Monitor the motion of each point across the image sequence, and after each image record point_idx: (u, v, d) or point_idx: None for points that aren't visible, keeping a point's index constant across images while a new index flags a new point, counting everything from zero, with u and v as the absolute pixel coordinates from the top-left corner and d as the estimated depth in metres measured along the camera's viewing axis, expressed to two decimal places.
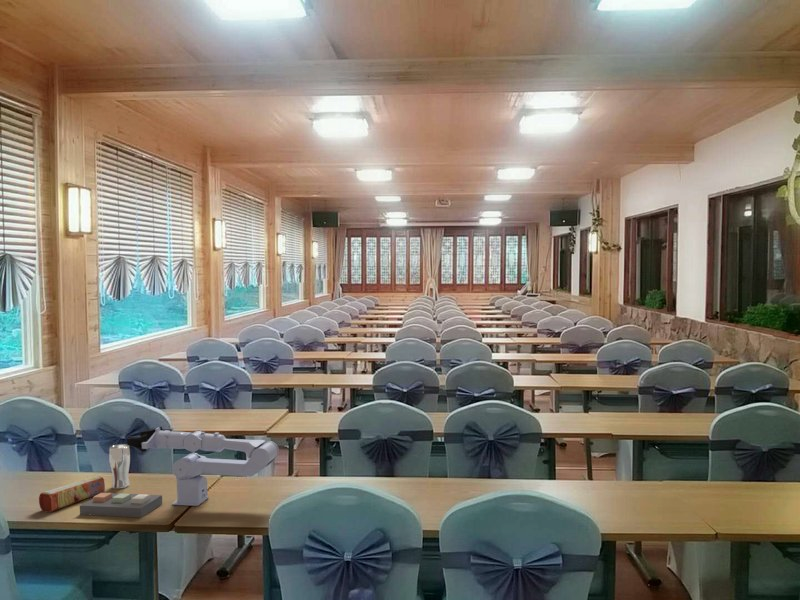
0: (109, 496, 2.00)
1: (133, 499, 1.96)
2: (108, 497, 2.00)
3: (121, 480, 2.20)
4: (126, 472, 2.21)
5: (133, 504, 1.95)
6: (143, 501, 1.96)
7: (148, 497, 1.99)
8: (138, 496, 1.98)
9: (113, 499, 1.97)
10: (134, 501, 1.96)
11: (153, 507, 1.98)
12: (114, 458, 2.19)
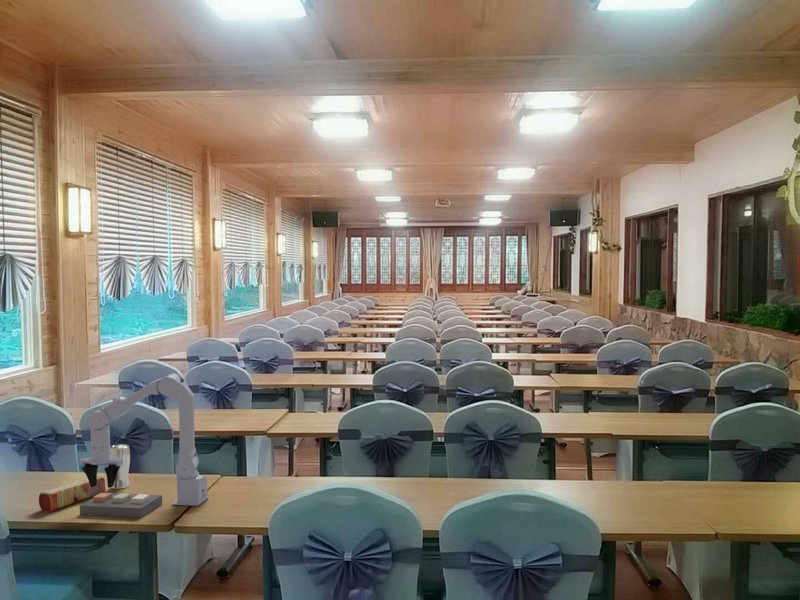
0: (109, 496, 2.00)
1: (133, 499, 1.96)
2: (108, 497, 2.00)
3: (121, 480, 2.20)
4: (126, 472, 2.21)
5: (133, 504, 1.95)
6: (143, 501, 1.96)
7: (148, 497, 1.99)
8: (138, 496, 1.98)
9: (113, 499, 1.97)
10: (134, 501, 1.96)
11: (153, 507, 1.98)
12: None
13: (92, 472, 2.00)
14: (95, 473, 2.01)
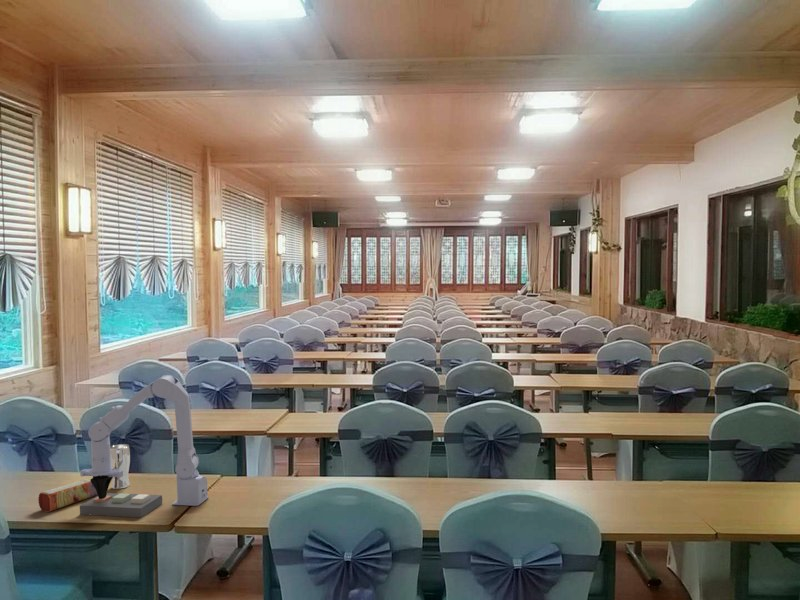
0: None
1: (133, 499, 1.96)
2: None
3: (121, 480, 2.20)
4: (126, 472, 2.21)
5: (133, 504, 1.95)
6: (143, 501, 1.96)
7: (148, 497, 1.99)
8: (138, 496, 1.98)
9: (113, 499, 1.97)
10: (134, 501, 1.96)
11: (153, 507, 1.98)
12: (114, 458, 2.19)
13: None
14: (103, 484, 2.01)
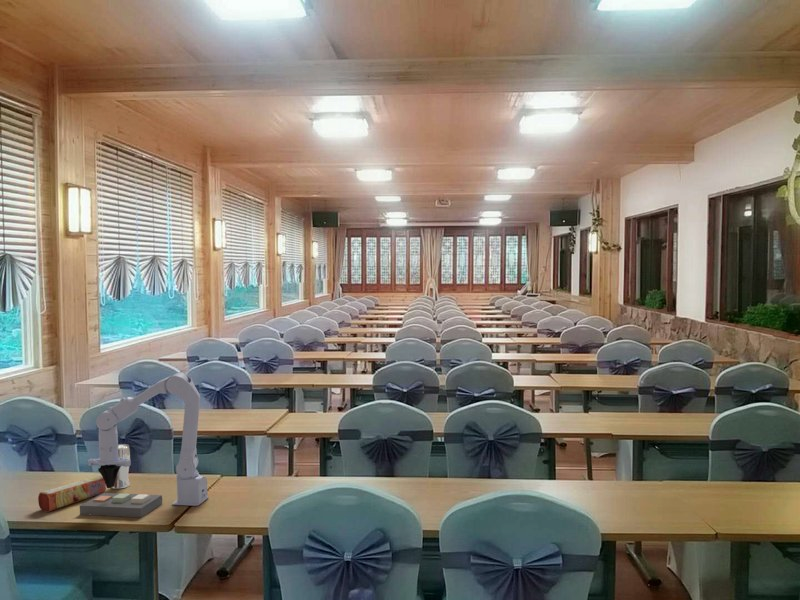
0: None
1: (133, 499, 1.96)
2: None
3: (121, 480, 2.20)
4: (126, 472, 2.21)
5: (133, 504, 1.95)
6: (143, 501, 1.96)
7: (148, 497, 1.99)
8: (138, 496, 1.98)
9: (113, 499, 1.97)
10: (134, 501, 1.96)
11: (153, 507, 1.98)
12: None
13: None
14: None
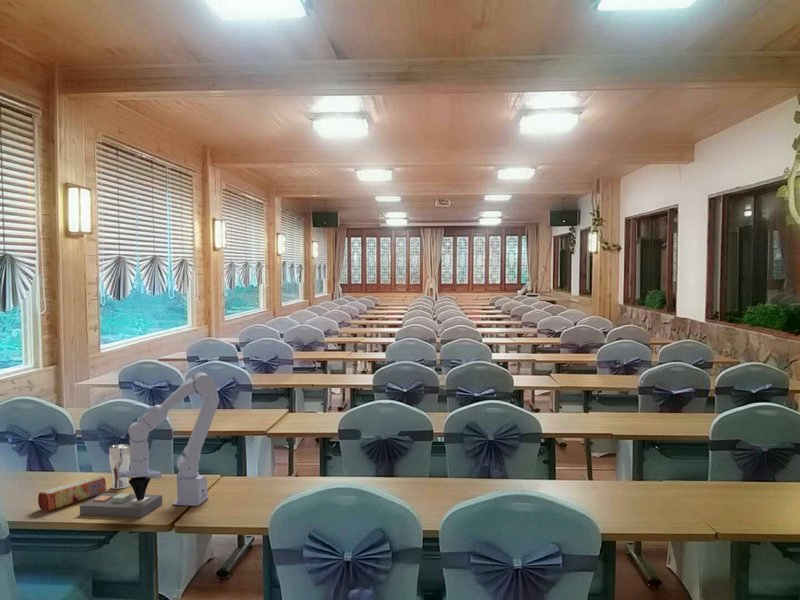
0: None
1: (133, 502, 1.96)
2: None
3: (121, 480, 2.20)
4: None
5: (133, 504, 1.95)
6: None
7: None
8: None
9: (113, 499, 1.97)
10: None
11: (153, 507, 1.98)
12: (114, 458, 2.19)
13: None
14: None
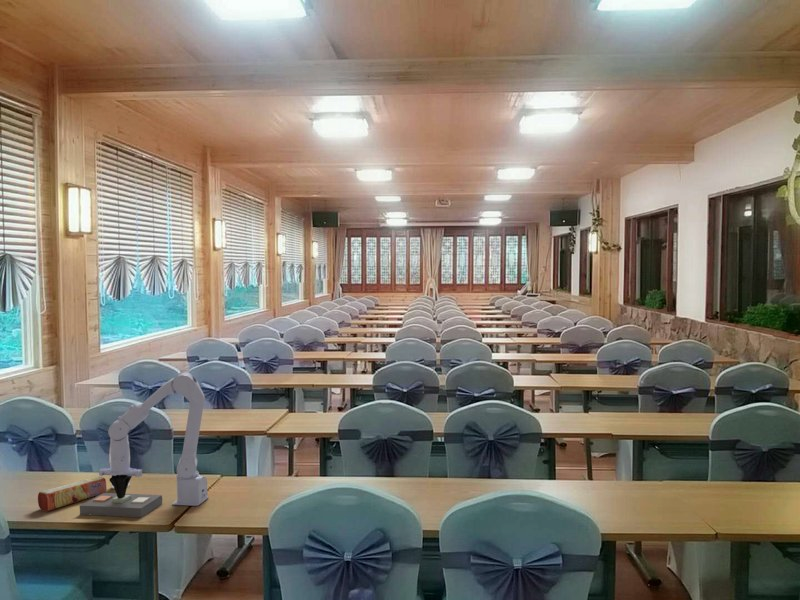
0: None
1: (133, 502, 1.96)
2: None
3: None
4: None
5: (133, 504, 1.95)
6: None
7: None
8: (138, 499, 1.98)
9: (113, 500, 1.97)
10: None
11: (153, 507, 1.98)
12: None
13: None
14: None
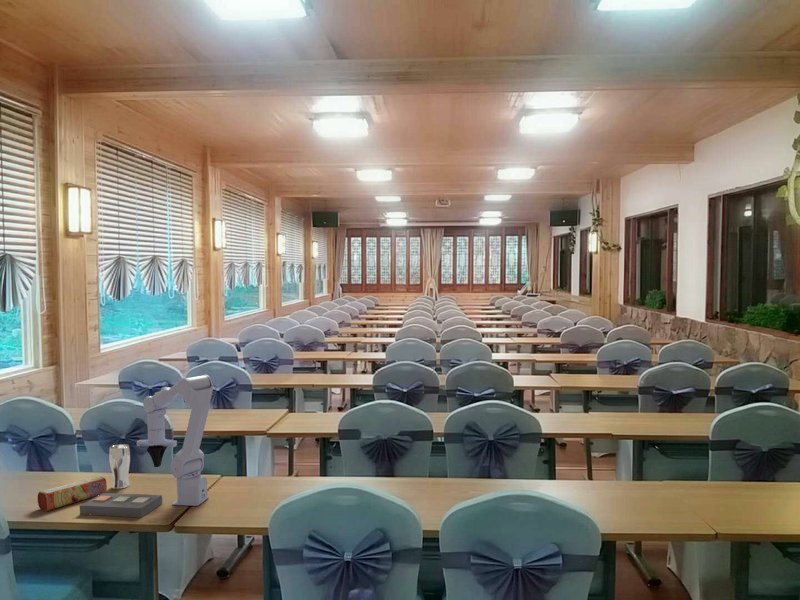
0: None
1: (133, 502, 1.96)
2: None
3: (121, 480, 2.20)
4: (126, 472, 2.21)
5: (133, 504, 1.95)
6: None
7: None
8: (138, 499, 1.98)
9: (113, 502, 1.97)
10: None
11: (153, 507, 1.98)
12: (114, 458, 2.19)
13: None
14: None
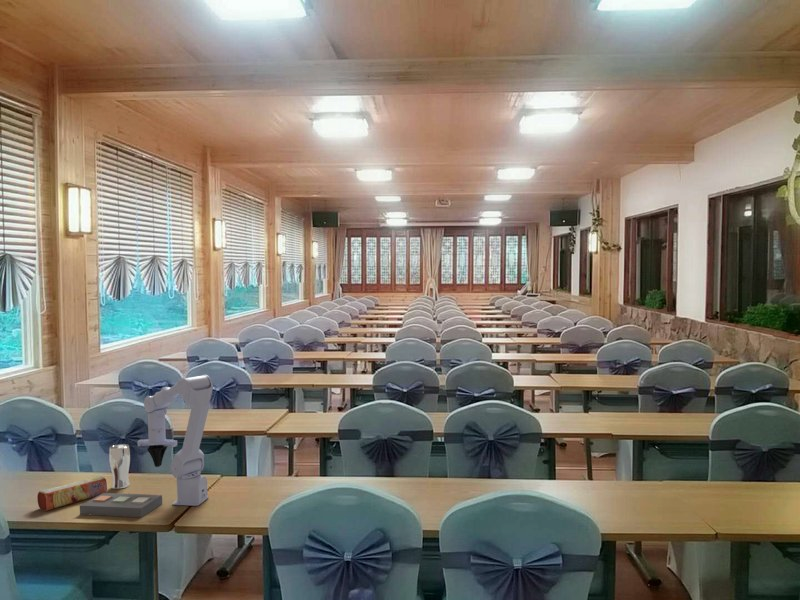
0: None
1: (133, 502, 1.96)
2: None
3: (121, 480, 2.20)
4: (126, 472, 2.21)
5: (133, 504, 1.95)
6: None
7: None
8: (138, 499, 1.98)
9: (113, 502, 1.97)
10: None
11: (153, 507, 1.98)
12: (114, 458, 2.19)
13: None
14: None
